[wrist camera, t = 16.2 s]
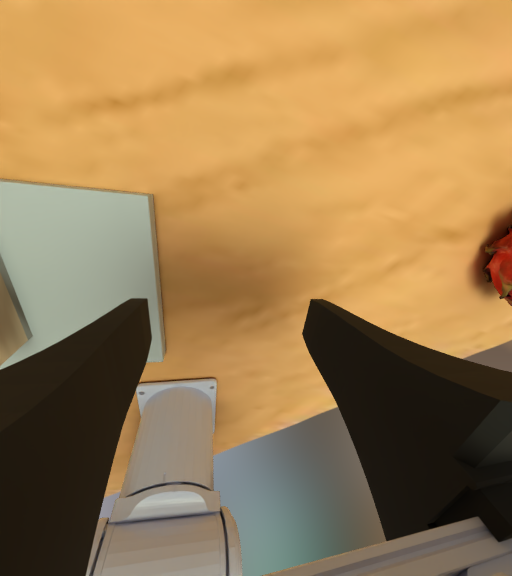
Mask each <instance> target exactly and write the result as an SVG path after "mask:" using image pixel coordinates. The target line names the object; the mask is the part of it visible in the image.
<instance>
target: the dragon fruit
mask: <svg viewBox="0 0 512 576" xmlns="http://www.w3.org/2000/svg"><path fill="white" fill-rule="evenodd" d="M508 231H509V234H508V235H507V236H505V237H503V238H502V239H499V240H496V241H494V242H493V243H492V245H491V246H489V247H488V245H489V244H488V245H486V247H485V252H486V253H487V252H488V253H489V254H491V255H492V254H494V253H495V252H496V253H495V254H494V256H493V258H492V260H491V261H490V263H489V264H488V265H487V266H486V268H484V269H483V272H484V274H485V276H486V278H487V282H492V281H493V284H494V286H495V288H496V289H497V291H498V293H499V294H500V295H501V296H500V297H499V298H500V299H503V298H504V299H506V300H507V301H508V303H509V304H510V305H511V306H512V225H511V226H509V227H508Z"/></svg>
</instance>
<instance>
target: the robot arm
mask: <svg viewBox="0 0 512 576" xmlns="http://www.w3.org/2000/svg"><path fill="white" fill-rule="evenodd" d="M302 335H303V338H304V340H305V343H306V346H307V348H308V351H309V353H310V355H311V357H312V359H313V361H314V362H315V364H316V366H317V368H318V370H319V372H320V373H321V375H322V377H323V379H324V381H325V382H326V384H327V386H328V388H329V390H330V391H331V393H332V395H333V397H334V399H335V401H336V403H337V405H338V407H339V410H340V412H341V414H342V417H343V419H344V421H345V424H346V426H347V428H348V431H349V433H350V436H351V438H352V441H353V443H354V446H355V449H356V451H357V454H358V456H359V459H360V462H361V465H362V468H363V470H364V473H365V476H366V478H367V482H368V484H369V487H370V490H371V493H372V496H373V499H374V503H375V506H376V509H377V512H378V515H379V518H380V521H381V524H382V528H383V531H384V534H385V537H386V542H383V543H379V544H376V545H372V546H368V547H365V548H361V549H357V550H353V551H350V552H346V553H343V554H339V555H335V556H332V557H328V558H324V559H321V560H317V561H314V562H310V563H306V564H303V565H299V566H295V567H292V568H288V569H284V570H281V571H277V572H273V573H270V574H266V575H262V576H512V372H508V371H503V370H499V369H495V368H491V367H488V366H484V365H481V364H477V363H474V362H470V361H467V360H463V359H460V358H457V357H454V356H451V355H448V354H445V353H442V352H439V351H436V350H433V349H430V348H427V347H424V346H422V345H419V344H417V343H414V342H412V341H409V340H407V339H404V338H402V337H399V336H397V335H395V334H392V333H390V332H388V331H386V330H384V329H382V328H380V327H378V326H375V325H373V324H371V323H369V322H367V321H365V320H364V319H362V318H360V317H358V316H356V315H354V314H352V313H350V312H348V311H346V310H344V309H343V308H341V307H339V306H337V305H335V304H333V303H331V302H328V301H326V300H323V299H311V301H310V305H309V309H308V313H307V317H306V321H305V325H304V329H303V333H302ZM151 341H152V333H151V325H150V316H149V307H148V299H147V298H131V299H129V300H127V301H125V302H123V303H122V304H120V305H119V306H117V307H116V308H114V309H112V310H111V311H109V312H108V313H106V314H105V315H103V316H101V317H100V318H98V319H97V320H95V321H94V322H92V323H90V324H89V325H87V326H85V327H83V328H82V329H80V330H78V331H77V332H75V333H73V334H71V335H70V336H68V337H66V338H64V339H63V340H61V341H59V342H57V343H55V344H53V345H51V346H50V347H48V348H46V349H44V350H42V351H40V352H38V353H36V354H33V355H31V356H29V357H27V358H25V359H23V360H21V361H19V362H17V363H15V364H12V365H10V366H8V367H5V368H3V369H1V370H0V576H242V558H241V547H240V539H239V533H238V529H237V525H236V522H235V520H234V518H233V516H232V515H231V513H230V511H229V509H228V508H227V507H225V506H223V507H220V492H219V491H214V489H213V433H214V430H215V410H216V390H217V381H216V379H198V380H184V381H170V382H156V383H142V384H139V385H138V383H139V381H140V378H141V375H142V373H143V370H144V367H145V365H146V362H147V359H148V355H149V351H150V346H151ZM135 391H136V393H137V398H138V404H139V410H140V415H141V421H140V424H139V428H138V431H137V435H136V439H135V442H134V446H133V449H132V453H131V457H130V460H129V464H128V467H127V471H126V475H125V478H124V482H123V485H122V489H121V493H120V496H119V498H118V499H116V500H115V504H114V507H113V511H112V514H111V518H110V521H109V518H100V519H99V515H100V511H101V507H102V503H103V499H104V494H105V490H106V486H107V483H108V479H109V475H110V471H111V467H112V463H113V459H114V455H115V452H116V448H117V445H118V441H119V437H120V434H121V430H122V427H123V424H124V421H125V418H126V415H127V412H128V409H129V407H130V404H131V402H132V399H133V396H134V394H135ZM141 391H142V392H141ZM108 521H109V524H108Z"/></svg>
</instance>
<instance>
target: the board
mask: <svg viewBox="0 0 512 576" xmlns="http://www.w3.org/2000/svg"><path fill="white" fill-rule="evenodd" d="M0 254H1V257H2V259H3V262H4V264H5V267H6V269H7V272H8V274H9V277H10V279H11V282H12V284H13V287H14V290H15V292H16V295H17V297H18V300H19V302H20V305H21V307H22V310H23V312H24V315H25V317H26V320H27V322H28V325H29V327H30V330H31V332H32V335H33V336H32V337H31V338H30V339H29V340H28V341H27V342H26V343H25V344H24V345H23V346H21V347H20V348H19V349H18V350H17V351H16V352H15V353H14V354H13V355H12V356H11V357H9V358H8V359H7V360H6V361H5V362H4V363H3V364H2V365H1V366H0V370H1V369H3V368H5V367H8V366H10V365H12V364H15V363H17V362H19V361H21V360H23V359H25V358H27V357H29V356H31V355H33V354H36V353H38V352H40V351H42V350H44V349H46V348H48V347H50V346H51V345H53V344H55V343H57V342H59V341H61V340H63V339H64V338H66V337H68V336H70V335H71V334H73V333H75V332H77V331H78V330H80V329H82V328H83V327H85V326H87V325H89V324H90V323H92V322H94V321H95V320H97V319H98V318H100V317H101V316H103V315H105V314H106V313H108V312H109V311H111V310H112V309H114V308H116V307H117V306H119V305H120V304H122V303H123V302H125V301H127V300H129V299H131V298H147V299H148V307H149V316H150V325H151V333H152V341H151V346H150V351H149V355H148V359H147V362H163V360H164V356H165V352H166V346H165V334H164V322H163V310H162V298H161V286H160V273H159V261H158V249H157V237H156V225H155V213H154V201H153V194H145V193H135V192H125V191H116V190H106V189H96V188H86V187H76V186H66V185H56V184H46V183H37V182H27V181H17V180H7V179H0Z"/></svg>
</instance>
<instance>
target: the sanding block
mask: <svg viewBox="0 0 512 576" xmlns="http://www.w3.org/2000/svg"><path fill="white" fill-rule="evenodd" d="M32 336H33V335H32V332H31V330H30V327H29V325H28V322H27V320H26V317H25V315H24V312H23V310H22V307H21V305H20V302H19V300H18V297H17V295H16V292H15V290H14V287H13V284H12V282H11V279H10V277H9V274H8V272H7V269H6V267H5V264H4V262H3V259H2V257H1V254H0V366H1V365H2V364H3V363H4V362H5V361H6V360H7V359H8V358H9V357H11V356H12V355H13V354H14V353H15V352H16V351H17V350H18V349H19V348H20V347H21V346H23V345H24V344H25V343H26V342H27V341H28V340H29V339H30V338H31V337H32Z"/></svg>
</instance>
